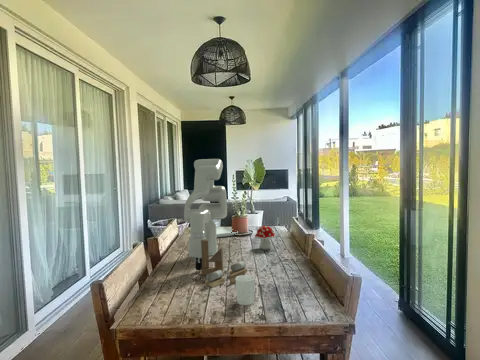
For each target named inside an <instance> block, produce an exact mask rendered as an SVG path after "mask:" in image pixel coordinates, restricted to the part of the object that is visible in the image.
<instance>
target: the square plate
mask: <svg viewBox="0 0 480 360" xmlns="http://www.w3.org/2000/svg"><path fill="white" fill-rule="evenodd" d="M232 230H233V229H232V228H229V227H226V226H216V236H217V238H224V237H225V238H226V237H232V236H235V235H237V234H238V233H239V231H237V232H232ZM231 232H232V233H231ZM236 233H237V234H236ZM234 234H235V235H234Z"/></svg>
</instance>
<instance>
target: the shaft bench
mask: <svg viewBox="0 0 480 360" xmlns="http://www.w3.org/2000/svg"><path fill="white" fill-rule="evenodd" d="M246 266H247V265H246V262H245V261H244V260H241V261H238V262H236V263H233V264H232V265H230V270H229V284H231V285H233V284H236V280H235V278H236V277H237V276H240V275H246V274H247V273H248V268H247V267H246ZM205 278H206V280H205V282H204V284H205V286H207V287H211V288H215V287H217V286H220V285H221V284H224V283H225V277H224V271H223V272H222V270H218V271H215V272H213V273H210V274H207V276H205Z"/></svg>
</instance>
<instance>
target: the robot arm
mask: <svg viewBox="0 0 480 360" xmlns="http://www.w3.org/2000/svg"><path fill="white" fill-rule="evenodd" d="M193 167H194V170H195V171H194V183H193V185H194V186H193V191H192V193H190V195H189V196H188V197H187V199H186V201H185V203H184V212H183V218H184V221H185V223H187V224H189V225H190V233H189V235H190V237H189V240H188V255H189V256H190V258H192V259H193V261H194V263H195V270H196V271H201V269H202V250H201V240H204V239H207V240H208V249H209V257H212V256H213V255H214V254H215V253H216V252H217V251H218V250H219V249H218V244H217V243H218V242H217V236H216V227H217V224H216V222H215V221H214V219H225V218H226V217H227V216H228V201H227V200H228V199H227V197H228V196H227V190H226V188H225V186H223V185H215V181H218V180H220V178H221V175H222V172H223V168H224V165H223V161H222V160H221V159H220V158H207V159H206V158H205V159H204V158H202V159H197V160H196V159H195V160H194V162H193ZM199 199H201V200H202V201H204V202H209V203H203V204H201V205H200V206H199V207H198V209H197V208H191V207H192V204H193V203H195V201H197V200H199ZM210 202H212V203H210ZM213 202H214V203H213ZM217 202H218V203H217Z"/></svg>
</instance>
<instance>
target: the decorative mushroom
mask: <svg viewBox="0 0 480 360" xmlns="http://www.w3.org/2000/svg"><path fill="white" fill-rule="evenodd" d="M254 238H256V239H257V240H258V239H259V240H260V242H259V246H258V247H259V249H261V250H263V251H265V250H266V251H267V250H270V249H271V248H272V242H271V241H270V240H271V239H272V240H273V239H275V238H276V234H275V233H274V230H273V228H272V227H271V226H268V225H262V226H260V227H259V228H258V229H257V231H256V234H255V235H254Z"/></svg>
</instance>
